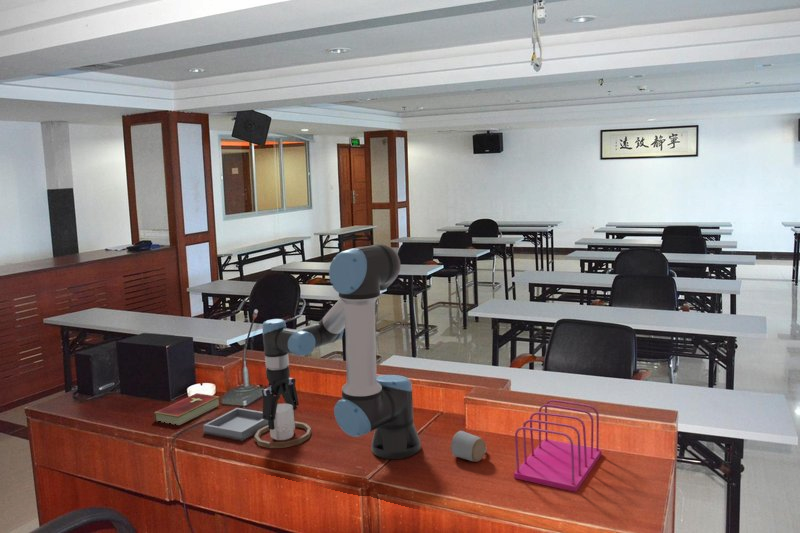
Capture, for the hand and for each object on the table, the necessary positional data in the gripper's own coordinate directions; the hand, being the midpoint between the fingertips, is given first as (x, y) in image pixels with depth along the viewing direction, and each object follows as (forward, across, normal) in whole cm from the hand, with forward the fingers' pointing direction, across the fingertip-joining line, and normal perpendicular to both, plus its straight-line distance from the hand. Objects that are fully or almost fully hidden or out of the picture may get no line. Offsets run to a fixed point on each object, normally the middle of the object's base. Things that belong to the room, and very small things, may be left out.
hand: (283, 432), depth 218 cm
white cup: (+1, 0, 0) cm, 1 cm away
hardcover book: (+2, -1, -48) cm, 48 cm away
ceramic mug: (+1, -13, +63) cm, 64 cm away
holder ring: (+1, 0, 0) cm, 1 cm away
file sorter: (+2, -18, +88) cm, 90 cm away
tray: (+1, +1, -19) cm, 19 cm away
